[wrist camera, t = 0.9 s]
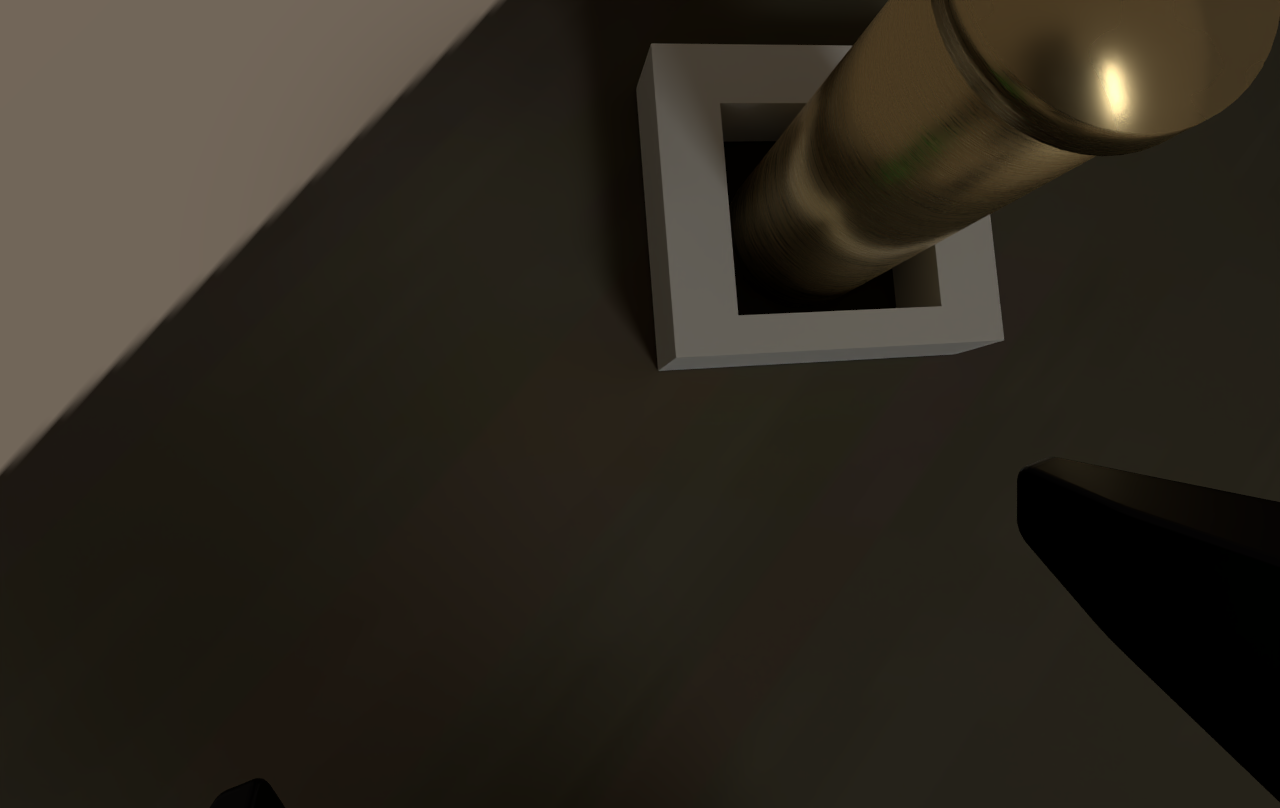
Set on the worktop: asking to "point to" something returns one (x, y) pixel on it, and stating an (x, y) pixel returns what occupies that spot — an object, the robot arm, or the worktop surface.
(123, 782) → the worktop surface
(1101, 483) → the robot arm
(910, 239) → the gold cylinder
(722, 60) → the frame
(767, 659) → the worktop surface
